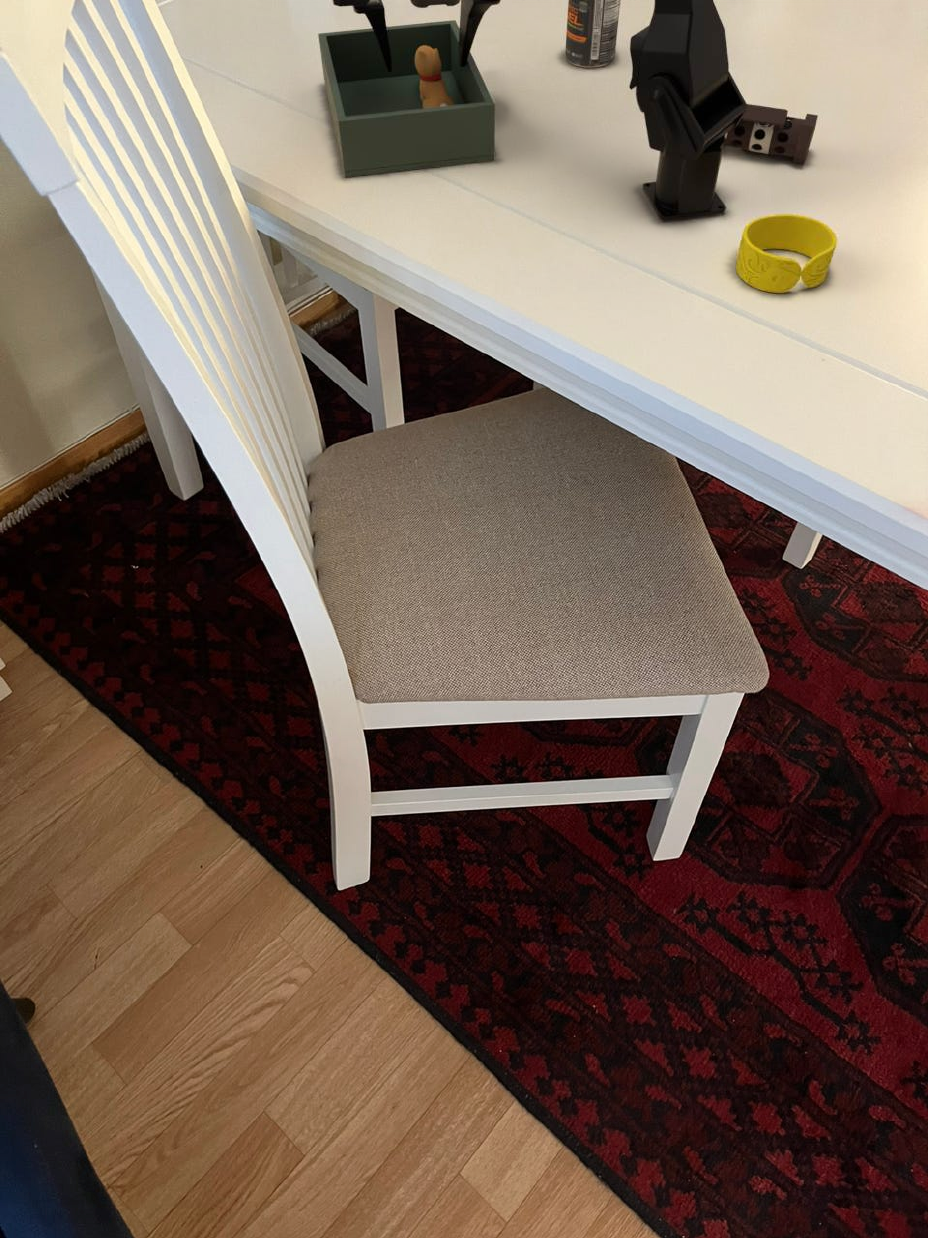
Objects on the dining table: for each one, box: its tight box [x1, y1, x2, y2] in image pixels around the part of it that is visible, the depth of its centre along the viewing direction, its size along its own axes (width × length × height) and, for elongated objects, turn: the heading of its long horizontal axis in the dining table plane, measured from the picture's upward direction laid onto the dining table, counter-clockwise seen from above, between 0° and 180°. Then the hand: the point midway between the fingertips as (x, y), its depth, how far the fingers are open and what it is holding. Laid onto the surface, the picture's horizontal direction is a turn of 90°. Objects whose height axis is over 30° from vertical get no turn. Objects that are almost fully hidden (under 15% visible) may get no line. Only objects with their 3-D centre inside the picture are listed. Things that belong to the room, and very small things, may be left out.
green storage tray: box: [317, 19, 496, 178], centre depth 101 cm, size 22×16×6 cm
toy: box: [415, 45, 454, 109], centre depth 101 cm, size 3×17×5 cm, turn 11°
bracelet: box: [735, 213, 838, 294], centre depth 83 cm, size 7×8×3 cm
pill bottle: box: [564, 0, 622, 68], centre depth 107 cm, size 6×6×11 cm
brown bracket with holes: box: [724, 103, 819, 165], centre depth 95 cm, size 4×11×5 cm
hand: (426, 67), depth 99 cm, fingers open, 7 cm apart
